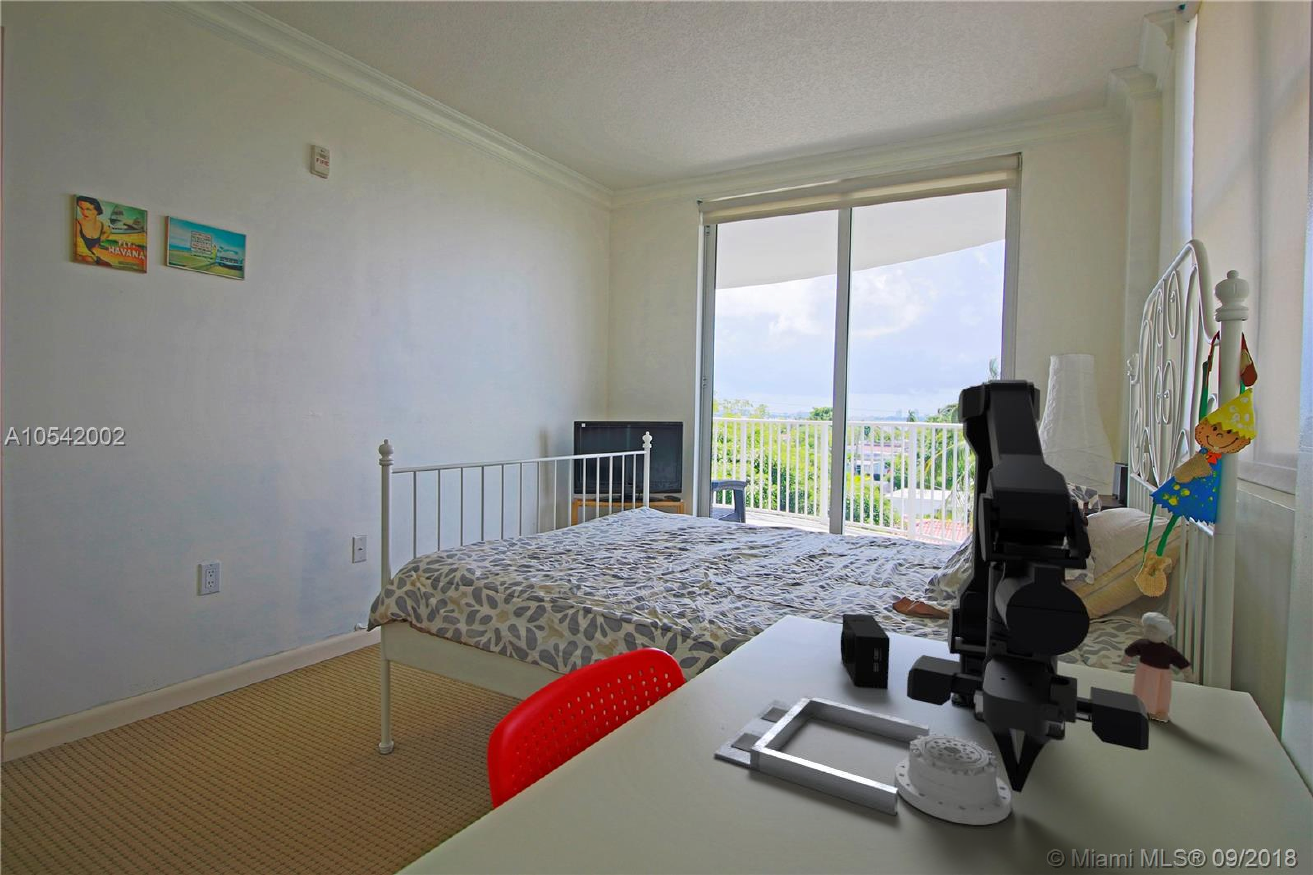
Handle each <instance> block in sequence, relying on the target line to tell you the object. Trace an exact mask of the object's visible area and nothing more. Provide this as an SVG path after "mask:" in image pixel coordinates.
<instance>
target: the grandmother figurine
mask: <svg viewBox="0 0 1313 875" xmlns="http://www.w3.org/2000/svg"><path fill="white" fill-rule="evenodd" d="M1141 618H1142V619H1141V626H1142V632H1143V635H1144V637H1145V638H1143V637H1142V638H1138V639H1136V640H1134V641H1133V642H1131V643H1130V644H1129V645H1127V647H1125V648H1124V650H1123V653H1122V654H1121V657H1120V658H1119V659H1118V662H1119V664H1120V665H1122V666H1128V665H1129V664H1130V661H1131V660H1132V659H1133V657H1139V659H1138V661H1137V663H1136V665H1135V666H1136V667H1135V672H1134V677H1133V678H1134V679H1133V687H1132V693H1131V694H1133V695H1137V697H1138V698H1139V699H1140V700H1141V701H1142V702H1143V703H1144V705H1145V709H1146V712H1147V714H1148V717H1149V716H1150V717H1151V718H1154V719H1159V720H1164V721H1165V720H1166V721H1168V720H1169V721H1170V715H1169V713H1170V705H1171V700H1172V692H1173V691H1172V684H1173V683H1172V682H1173V681H1172V680H1173V679H1172V669H1171V666H1174V667H1175V668H1177V669H1178V670H1180V671H1181V673H1182V674H1183V677H1184V680H1185V681H1186V682H1189V683H1192V682H1193V683H1194V682H1195V681H1196V676H1195V675H1194V673H1193V669H1192V667H1191V665H1192V664H1191V662H1190V661H1189V660H1188V659H1187V658H1186V657H1185V656H1184V655H1183V654H1182V653H1181V652H1180V651H1179V650H1177V649H1176V648H1175V647H1172V645H1170V644H1168V643H1166V641H1167V640H1169V637H1171V636H1173V635H1175V633H1177V631H1176V630H1175V627H1174V625H1173V624H1172V621H1171V620H1170V619H1169V618H1168V617H1166V616H1164V614H1162V613H1160V612H1151V611H1150V612H1146V613H1144V614H1143V615H1142V616H1141ZM1151 718H1150V719H1151Z"/></svg>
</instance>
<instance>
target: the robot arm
mask: <svg viewBox="0 0 1313 875" xmlns="http://www.w3.org/2000/svg"><path fill="white" fill-rule="evenodd" d="M957 404H958V405H957V422H958V424H959V423H960V424H962V436H963V438H964V440H965V442H966V443H967V446H968V447H969V448H970V450H971V452H972V453H973V455H974V482H973V484H974V485H973V507H972V508H973V510H972V532H971V533H972V534H971V535H972V537H971V538H972V539H971V559H970V560H971V562H970V563H971V565H970V566H971V567H970V572H969V573H968V575H967V576H966V577H965V579H964V580H963V581H962V583H961V584H960V585H959V587H958V588H957V590H956V597H955V598H956V602H955V605H954V604H951V605H950V611H949V618H948V624H947V647H948V651H949V654H950V655H959V656H958V659H959V661H957V660H951V659H946V658H942V657H935V656H931V655H925V654H923V655H921V656H920V657H918V658H917V659H916V660H915V661H914V663H913V664H912V666H911V667H910V669H909V670H908V673H907V682H906V684H907V686H906V696H907V697H908V698H909V699H911V700H913V701H917V702H921V703H927V704H932V705H936V706H941V707H942V706H943V705H944V704H946V703H947V702H949V701H950V702H951V703H952V704H954V705H959V706H963V707H967V708H968V707H969V708H971V709H974V711H973V714H972V715H973V716H972V717H973V719H974V721H975V722H977V723H980V724H984V725H985V726H986V727H987V729H988V731H990V732H991V734H992V736H993V739H994V741H995V743H996V745H997V747H998V751H999V752H1000V756H1001V759H1002V763H1003V765H1004V769H1005V772H1006V775H1007V779H1008V782H1009V784H1010V787H1011V790H1012V792H1016V793H1022V792H1023V788H1024V787H1025V784H1026V782H1027V779H1028V777H1029V775H1030V773H1031V771H1032V769H1033V766H1034V764H1035V761H1036V759H1037V758H1038V756H1039V754H1040V753H1041V751H1042V750H1043V748H1044V747H1045V746H1046V745H1047V744H1048V743H1049V742H1050V741H1051V740H1054V741H1064V740H1065V739H1066V724H1067V723H1070V724H1075V723H1077V720H1078V721H1081V722H1087V723H1091V731H1092V732H1093V733H1094V734H1095V735H1096V736H1097V738H1099V739H1100V741H1101V742H1102V743H1106V744H1111V745H1115V746H1119V747H1122V748H1123V747H1124V748H1129V749H1133V750H1138V751H1146V750H1147V751H1148V750H1149V747H1150V746H1149V742H1150V723H1149V722H1150V721H1149V715H1148V713H1147V712H1146V709H1145V705H1144V703H1143V702H1142V701H1141V700H1140V699H1139V698H1138V697H1137V695H1133V694H1132V693H1127V692H1122V691H1118V690H1111V689H1105V688H1101V687H1094V686H1090V691H1089V698H1086V697H1082V696H1078V679H1077V678H1076V677H1072V676H1066V675H1062V674H1058V666H1059V665H1058V664H1059V663H1058V662H1059V661H1058V660H1059V656H1062V655H1065V654H1068V653H1071V652H1072V651H1074V650H1076V649H1078V648H1079V646H1081V644H1083V643H1084V641H1085V639H1086V638H1087V635H1088V634H1089V630H1090V626H1091V620H1090V619H1091V618H1090V615H1089V612H1088V609H1087V606H1086V605H1085V603H1084V602H1083V600H1082V598H1081V597H1080V596H1079V595H1078V594H1077V593H1076V592H1075V591H1074V590H1073V589H1072V588H1071V587H1070V586H1069V585H1067V583H1066V569H1067V570H1069V569H1070V570H1077V571H1079V570H1081V571H1086V570H1087V566H1088V564H1087V560H1089V558H1090V555H1091V553H1092V546H1091V542H1090V538H1089V533H1088V532H1089V531H1088V528H1087V523H1086V519H1085V516H1084V512H1083V511H1082V510H1081V509H1080V506H1079V501H1077V500H1078V499H1076V498H1072V497H1071V496H1072V494H1071V492H1070V489H1069V487H1068V484H1067V481H1066V479H1065V476H1064V475H1063V473H1062V472H1060V471H1058V470H1057V469H1056V468H1054V467H1052V466H1050V465H1049V464H1047V463H1046V460H1045V457H1044V452H1043V448H1042V443H1041V439H1040V434H1039V430H1038V429H1039V428H1038V424H1037V423H1038V422H1040V420H1041V419H1040V418H1041V390H1040V389H1039V388H1036V387H1035V384H1034V382H1033V381H1031V382H1030V381H1028V380H1027V379H989V380H988V381H982V383H981V384H979V385H970V387H966V388H963V389H961V391H960V393H959V395H958V402H957ZM1065 540H1066V543H1067V546H1068V548H1063V547H1065V546H1064V544H1065ZM1016 731H1021V732H1024V733H1023V738H1022V743H1021V749H1020V752H1019V753H1020V754H1019V757H1018V746H1017V745H1018V742H1017V733H1016Z"/></svg>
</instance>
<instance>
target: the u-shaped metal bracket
mask: <svg viewBox="0 0 1313 875" xmlns="http://www.w3.org/2000/svg"><path fill="white" fill-rule="evenodd" d="M809 718H815V719H819V720H822V721H825V722H830V723H834V724H837V725H841V726H844V727H848V728H852V729H856V730H860V731H862V732H863V731H864V732H866V733H870V734H875V735H878V736H882V737H885V738H889V739H894V740H897V741H901V742H904V743H907V744H910V742H912V741H914V740H916V739H917V736H919V735H921V736H923V737H925V736H930V725H927V724H922V723H919V722H914V721H910V720H908V719H907V720H906V719H903V718H900V717H895V716H892V715H887V714H883V713H880V712H875V711H871V710H869V709H863V708H859V707H857V706H856V707H855V706H851V705H847V704H843V703H840V702H836V701H832V700H827V699H823V698H820V697H816V696H813V695H808V694H805V695H804V696H803V697H802V698H801V699H800V700H799V701H798V702H797V703H796V704H792V703H788V702H784V701H780V700H776V699H774V700H772V701H771V702H770V703H769V704H767V705H766V707H765V708H763V709H762V710H761V711H760V712H759V713H757V714H756V715H755V716H754V717H753V718H752V719H750V720H749V721H748V722H747V723H746V724H745V725H744V726H743V727H742V728H741V729H739V730H738V731H737V732H736V733H735V734H734V735H733V736H732V737H731V738H729V739H728V740H727V741H726V742H725V743H724V744H722V745H721V746H720V747H719V748H718V749H717V750H716V751H714V753H713V754H714V758H717V759H720V760H724V761H727V762H731V763H733V764H736V765H739V766H742V767H745V768H748V769H752V770H754V771H758V772H761V773H763V774H766V775H769V776H773V777H775V778H779V779H782V780H785V781H787V782H791V783H794V784H797V785H800V786H803V787H806V788H809V789H813V790H815V791H818V792H821V793H823V794H824V793H825V794H827V795H831V796H834V797H837V798H840V799H843V800H846V801H848V802H849V801H850V802H852V803H855V804H858V805H862V806H865V807H867V808H870V809H873V810H876V811H880V812H883V813H885V814H889V815H891V816H896V814H897V811H898V800H899V797H898V796H899V792H898V788H896V786H895V787H894V786H892V785H888V784H885V783H881V782H878V781H875V780H872V779H869V778H866V777H862V776H859V775H856V774H852V773H850V772H845V771H843V770H840V769H836V768H832V767H829V766H827V765H823V764H820V763H816V762H813V761H810V760H806V759H803V758H800V757H797V756H795V755H790V754H788V753H787V754H786V753H783V752H781V751H780V750H781V749H782V747H784V746H785V744H786V743H788V741H790V739H791V738H792V737H793V736H794V735H795V734H796V733H797V732H798V730H799V729H800V728H801V727H802V726H803V725H804V724H805V723H806V722H807V721H808V720H809Z"/></svg>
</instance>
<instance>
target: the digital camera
mask: <svg viewBox="0 0 1313 875" xmlns="http://www.w3.org/2000/svg"><path fill="white" fill-rule="evenodd" d="M890 640H891V638H890V636H888V634H887V632H886V631H885V630H884V629H883V627H882V626H881V624H879V622H878V621H877V620H876V618H875V617H874V616H873V615H872V614H855V613H854V614H853V613H843V614H842V629H841V634H840V655H841V656H840V657H841V658H840V660H841V661H842V664H843V665H844V667H845V669H846V672H847V674H848V676H849V678H850V680H851V682H852V683H853V686H854V687H855V688H860V689H861V688H863V689H878V690H888V689H889V671H890V670H889V665H890V663H889V662H890V645H891V644H890V643H891V642H890Z"/></svg>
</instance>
